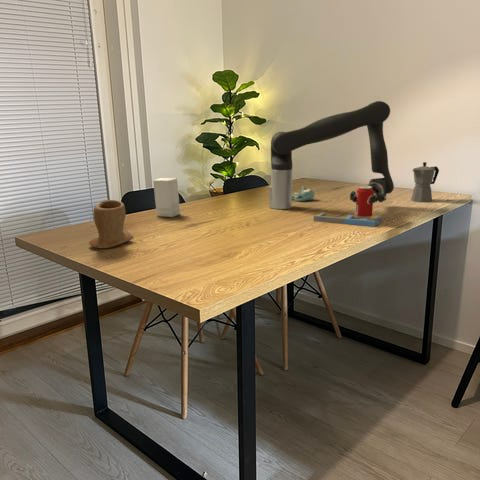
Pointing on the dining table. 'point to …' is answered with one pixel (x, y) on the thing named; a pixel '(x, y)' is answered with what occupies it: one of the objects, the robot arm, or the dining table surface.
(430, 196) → the coffeepot
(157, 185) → the skincare box
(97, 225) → the brown hollow piece
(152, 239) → the dining table surface
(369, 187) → the beverage can
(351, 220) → the e-shaped bracket
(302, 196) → the stuffed animal
